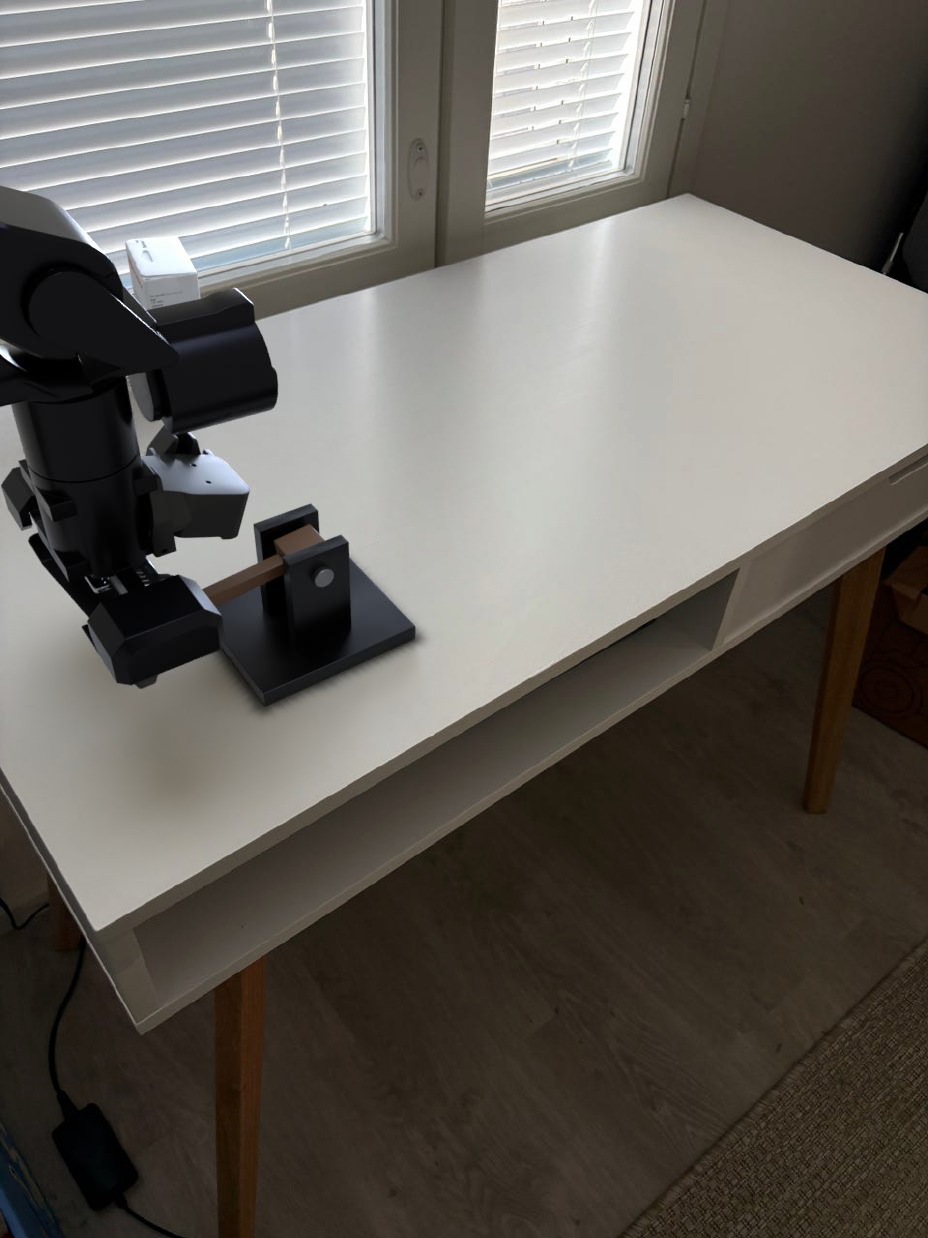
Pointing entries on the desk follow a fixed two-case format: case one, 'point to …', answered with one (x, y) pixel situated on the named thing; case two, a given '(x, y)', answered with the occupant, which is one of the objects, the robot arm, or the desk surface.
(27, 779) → the desk surface
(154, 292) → the ink box
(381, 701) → the desk surface
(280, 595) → the bracket
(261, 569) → the lever
